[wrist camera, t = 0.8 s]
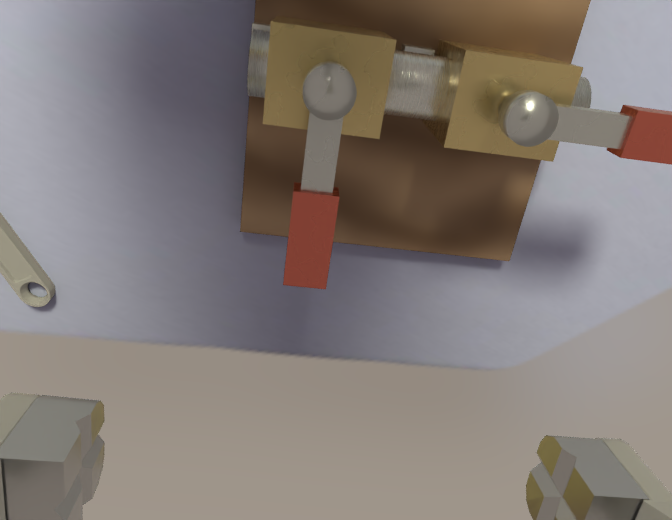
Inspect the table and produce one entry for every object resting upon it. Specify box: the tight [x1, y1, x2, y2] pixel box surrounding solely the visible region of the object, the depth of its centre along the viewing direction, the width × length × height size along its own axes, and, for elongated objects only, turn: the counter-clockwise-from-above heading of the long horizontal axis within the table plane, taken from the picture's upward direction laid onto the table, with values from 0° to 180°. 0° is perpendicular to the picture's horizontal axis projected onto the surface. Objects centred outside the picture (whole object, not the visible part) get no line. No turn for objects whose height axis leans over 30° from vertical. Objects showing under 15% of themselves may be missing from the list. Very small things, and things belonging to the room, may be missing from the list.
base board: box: [240, 0, 591, 261], centre depth 40 cm, size 20×22×2 cm
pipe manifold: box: [247, 16, 672, 164], centre depth 34 cm, size 6×28×10 cm, turn 82°
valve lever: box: [283, 61, 357, 289], centre depth 31 cm, size 13×3×2 cm, turn 172°
